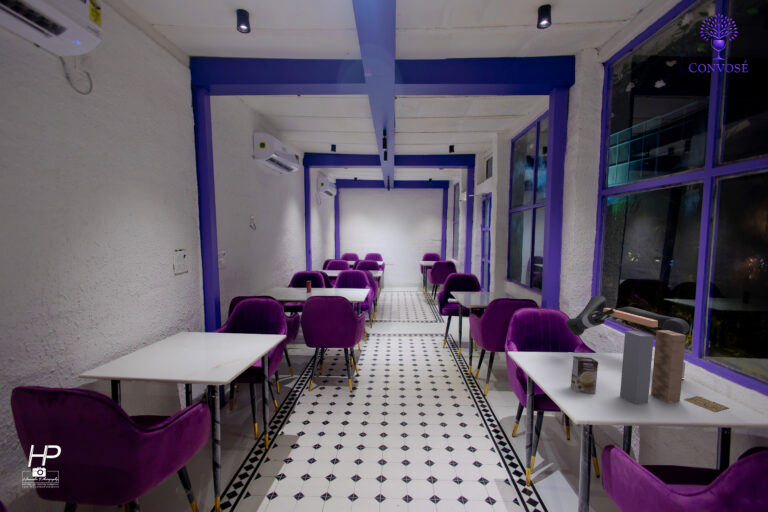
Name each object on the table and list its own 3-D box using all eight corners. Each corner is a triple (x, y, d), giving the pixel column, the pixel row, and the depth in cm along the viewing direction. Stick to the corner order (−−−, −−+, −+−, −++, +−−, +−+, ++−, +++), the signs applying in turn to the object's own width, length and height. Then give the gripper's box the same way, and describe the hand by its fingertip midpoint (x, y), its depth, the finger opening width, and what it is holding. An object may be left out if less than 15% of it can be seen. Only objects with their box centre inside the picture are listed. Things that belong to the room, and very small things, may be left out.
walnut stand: (650, 394, 162) (656, 330, 160) (662, 393, 163) (668, 330, 161) (667, 402, 154) (673, 335, 152) (679, 401, 155) (685, 335, 154)
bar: (603, 313, 181) (603, 308, 181) (608, 313, 181) (608, 308, 181) (652, 327, 153) (652, 320, 153) (657, 327, 154) (657, 320, 153)
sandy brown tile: (682, 400, 157) (682, 398, 157) (697, 396, 162) (697, 395, 162) (715, 413, 146) (715, 411, 146) (729, 409, 150) (730, 407, 150)
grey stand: (619, 395, 159) (625, 331, 157) (632, 395, 160) (637, 330, 158) (635, 404, 151) (641, 336, 149) (647, 403, 152) (653, 335, 150)
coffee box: (576, 392, 161) (578, 360, 160) (570, 386, 167) (572, 355, 166) (596, 394, 160) (598, 362, 159) (589, 388, 166) (591, 357, 165)
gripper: (606, 325, 189) (630, 316, 174) (584, 326, 187) (607, 317, 172) (601, 312, 192) (624, 303, 177) (580, 313, 190) (601, 304, 175)
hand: (615, 310), depth 175 cm, fingers closed on bar, 3 cm apart
